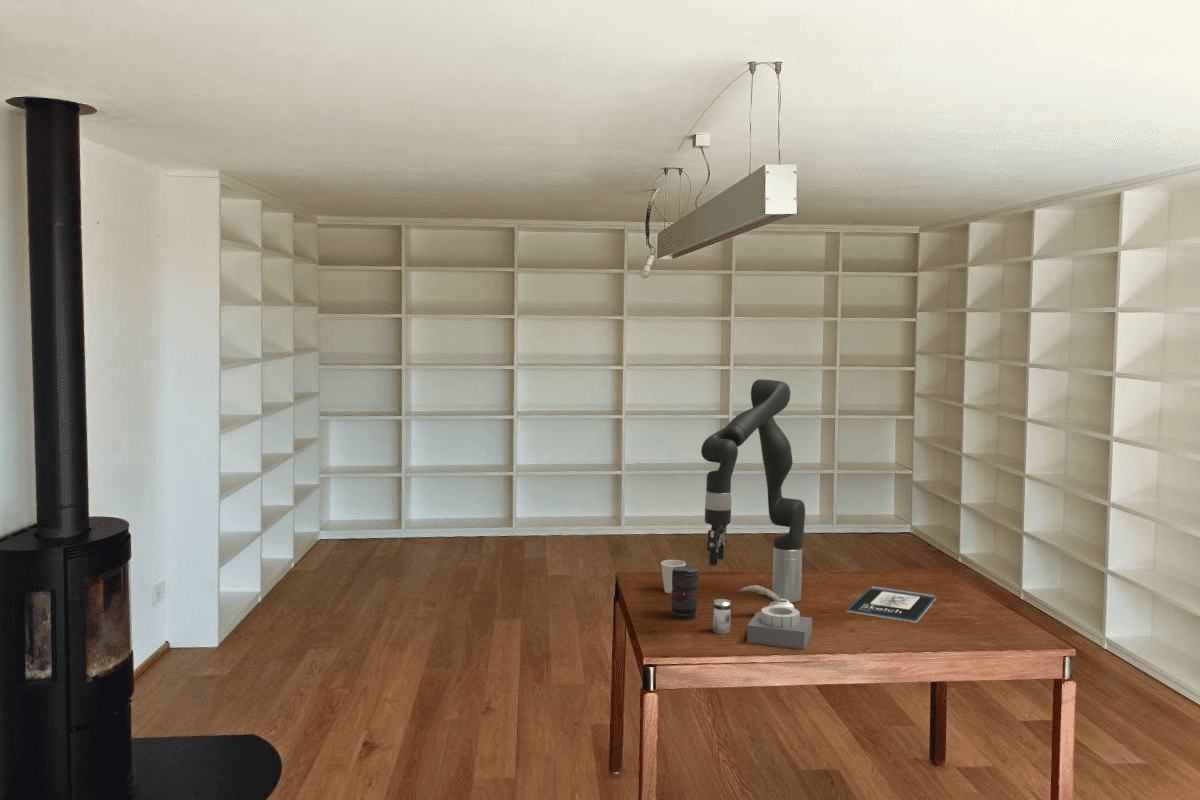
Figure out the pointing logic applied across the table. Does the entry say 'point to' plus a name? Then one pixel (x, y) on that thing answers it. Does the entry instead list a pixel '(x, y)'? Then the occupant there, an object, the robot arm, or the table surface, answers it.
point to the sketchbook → (892, 604)
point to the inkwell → (769, 595)
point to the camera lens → (684, 592)
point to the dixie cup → (669, 572)
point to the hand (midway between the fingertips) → (716, 562)
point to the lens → (721, 616)
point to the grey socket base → (780, 627)
